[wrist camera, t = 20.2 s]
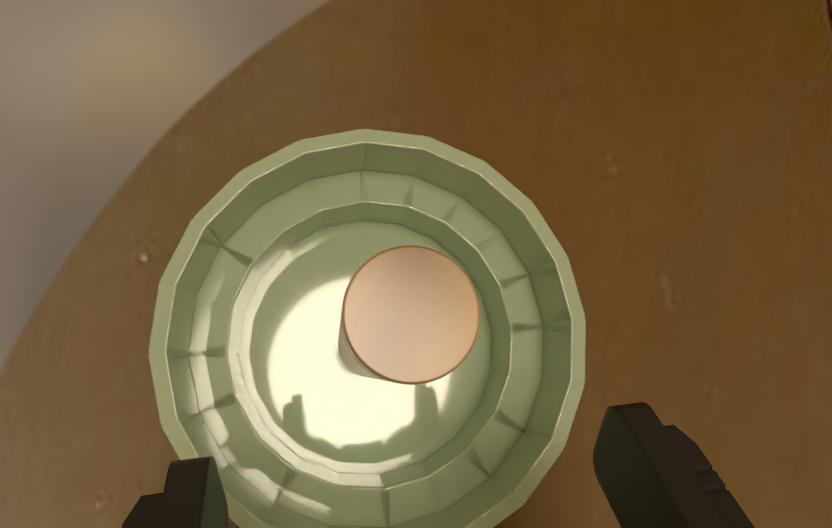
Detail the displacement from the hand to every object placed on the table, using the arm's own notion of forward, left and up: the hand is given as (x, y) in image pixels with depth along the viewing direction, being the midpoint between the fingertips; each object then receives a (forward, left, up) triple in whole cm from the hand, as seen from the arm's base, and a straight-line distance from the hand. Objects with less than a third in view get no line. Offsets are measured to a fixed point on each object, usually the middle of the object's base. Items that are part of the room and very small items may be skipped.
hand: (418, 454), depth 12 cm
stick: (0, +3, -14) cm, 14 cm away
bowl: (0, +3, -15) cm, 15 cm away
